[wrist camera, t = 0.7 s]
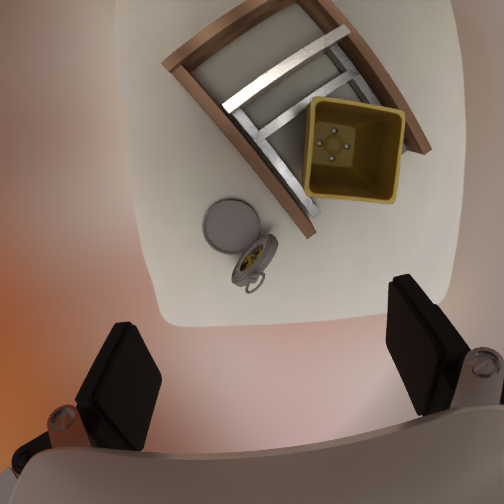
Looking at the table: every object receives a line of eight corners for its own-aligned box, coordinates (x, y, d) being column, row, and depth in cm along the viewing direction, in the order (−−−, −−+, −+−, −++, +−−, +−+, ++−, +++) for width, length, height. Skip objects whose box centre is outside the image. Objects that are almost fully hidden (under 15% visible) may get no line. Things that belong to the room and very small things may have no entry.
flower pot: (296, 100, 31) (311, 94, 22) (371, 111, 31) (407, 111, 23) (291, 177, 34) (303, 197, 26) (363, 184, 34) (395, 205, 26)
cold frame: (297, -10, 25) (305, -32, 19) (411, 144, 32) (436, 150, 27) (175, 71, 29) (160, 63, 24) (300, 223, 36) (308, 242, 31)
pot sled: (326, 40, 27) (344, 23, 21) (400, 148, 32) (430, 156, 26) (228, 108, 31) (221, 104, 24) (310, 212, 36) (322, 234, 29)
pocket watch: (206, 194, 35) (190, 222, 26) (279, 205, 36) (289, 236, 26) (199, 258, 38) (184, 303, 29) (267, 268, 39) (271, 315, 30)
